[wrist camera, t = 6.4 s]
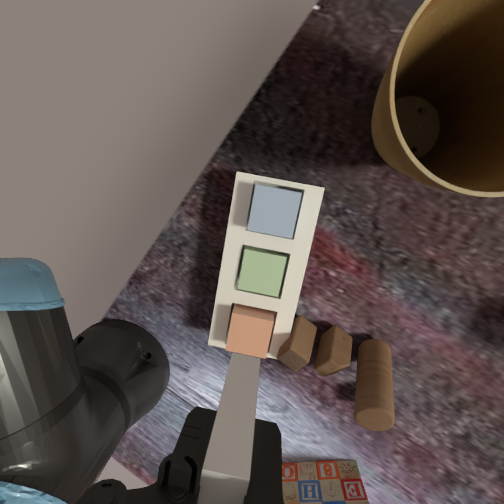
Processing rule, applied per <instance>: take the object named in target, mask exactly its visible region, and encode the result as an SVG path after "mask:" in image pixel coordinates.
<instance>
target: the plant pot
mask: <svg viewBox="0 0 504 504" xmlns="http://www.w3.org/2000/svg"><path fill="white" fill-rule="evenodd" d="M419 109H422V111H421V112H420V113H419V112H418V110H419ZM371 132H372V139H373V143H374V146H375V148H376V150H377V152H378V153H379V155H380V156H381V157H382V159H383V160H384V161H385V162H386V163H387V164H389V165H390V166H391V167H392V168H394V169H395V170H397V171H398V172H400V173H402V174H404V175H405V176H408V177H410V178H412V179H414V180H417V181H419V182H422V183H425V184H427V185H430V186H434V187H437V188H441V189H445V190H449V191H452V192H457V193H462V194H466V195H472V196H479V197H503V196H504V0H425V1H424V2H423V3H422V5H421V6H420V7H419V9H418V10H417V11H416V13H415V14H414V16H413V18H412V19H411V21H410V22H409V24H408V26H407V28H406V30H405V32H404V34H403V36H402V38H401V40H400V42H399V44H398V46H397V48H396V50H395V52H394V54H393V56H392V58H391V60H390V62H389V64H388V67H387V69H386V71H385V74H384V76H383V79H382V81H381V84H380V87H379V90H378V93H377V96H376V99H375V103H374V108H373V114H372V123H371ZM413 148H415V152H414V151H413Z"/></svg>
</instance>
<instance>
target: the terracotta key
mask: <svg viewBox="0 0 504 504" xmlns="http://www.w3.org/2000/svg"><path fill="white" fill-rule="evenodd" d="M273 323H274V311H271V310H266V309H261V308H256V307H251V306H247V305H242V304H237V303H235V306H234V309H233V312H232V317H231V322H230V328H229V333H228V339H227V344H226V350H227V351H231V352H236V353H241V354H246V355H250V356H255V357H260V358H264V359H266V355H267V351H268V346H269V342H270V337H271V333H272V328H273Z"/></svg>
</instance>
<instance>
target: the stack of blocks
mask: <svg viewBox="0 0 504 504" xmlns="http://www.w3.org/2000/svg"><path fill="white" fill-rule="evenodd" d="M282 488H283V500H284V503H285V504H369V502H368V498H367V495H366V492H365V489H364V486H363V483H362V480H361V476H360V472H359V469H358V466H357V462H356V460H344V461H335V460H333V461H309V462H297V463H284V464H282Z"/></svg>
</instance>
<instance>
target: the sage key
mask: <svg viewBox="0 0 504 504" xmlns="http://www.w3.org/2000/svg"><path fill="white" fill-rule="evenodd" d="M286 259H287V256H286V253H284V252H279V251H274V250H269V249H263V248H258V247H253V246H248V245H247V246H246V248H245V250H244V256H243V261H242V267H241V272H240V278H239V283H238V289H241V290H246V291H251V292H256V293H261V294H266V295H271V296H275V297H278V295H279V291H280V286H281V282H282V277H283V273H284V268H285V263H286Z"/></svg>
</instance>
